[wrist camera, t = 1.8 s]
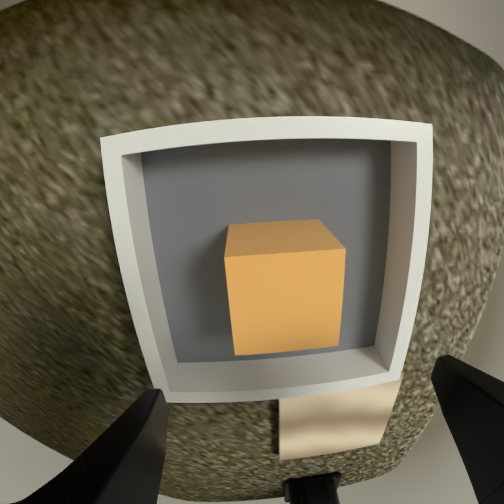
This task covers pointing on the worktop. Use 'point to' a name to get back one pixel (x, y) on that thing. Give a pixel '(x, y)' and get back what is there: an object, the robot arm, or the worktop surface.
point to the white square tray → (268, 210)
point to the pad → (335, 420)
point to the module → (284, 286)
